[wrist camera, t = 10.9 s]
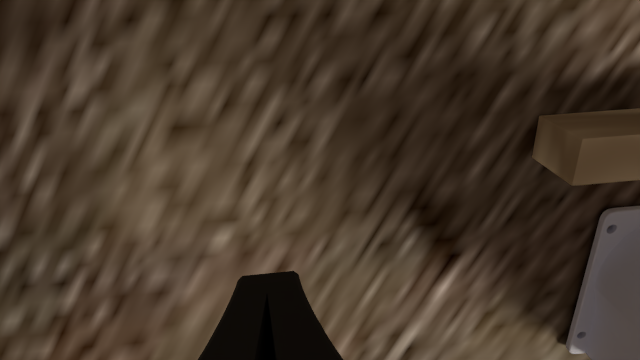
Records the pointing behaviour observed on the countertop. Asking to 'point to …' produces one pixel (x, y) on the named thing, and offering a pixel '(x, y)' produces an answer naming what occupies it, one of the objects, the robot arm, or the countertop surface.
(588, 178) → the frame
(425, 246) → the countertop surface
